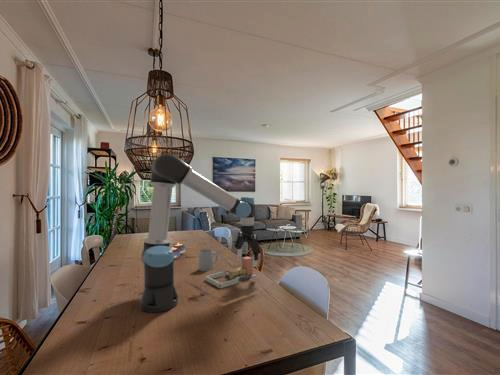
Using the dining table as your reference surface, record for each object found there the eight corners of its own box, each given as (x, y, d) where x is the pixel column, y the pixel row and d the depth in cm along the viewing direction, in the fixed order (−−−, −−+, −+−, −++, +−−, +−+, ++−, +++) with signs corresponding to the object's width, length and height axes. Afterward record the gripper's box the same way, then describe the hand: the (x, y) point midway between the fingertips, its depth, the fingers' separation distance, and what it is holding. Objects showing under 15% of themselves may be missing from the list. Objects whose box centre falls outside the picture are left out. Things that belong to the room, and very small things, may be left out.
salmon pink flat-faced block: (246, 275, 137) (246, 259, 137) (242, 274, 140) (241, 257, 140) (252, 274, 139) (252, 257, 139) (247, 272, 142) (247, 256, 142)
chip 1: (233, 279, 131) (233, 272, 131) (228, 277, 134) (228, 270, 134) (239, 278, 133) (239, 270, 133) (234, 276, 137) (234, 268, 137)
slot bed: (236, 283, 128) (236, 278, 128) (225, 278, 136) (225, 273, 136) (256, 277, 137) (256, 272, 137) (245, 272, 145) (245, 268, 145)
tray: (220, 290, 120) (220, 283, 120) (205, 282, 131) (205, 276, 131) (238, 285, 127) (238, 278, 127) (223, 277, 138) (223, 271, 138)
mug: (202, 272, 147) (201, 253, 147) (196, 268, 154) (196, 250, 154) (220, 268, 153) (220, 250, 153) (214, 265, 160) (214, 247, 160)
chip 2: (239, 277, 134) (239, 270, 134) (235, 275, 137) (235, 268, 137) (245, 276, 136) (245, 268, 136) (241, 274, 139) (241, 267, 139)
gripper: (267, 226, 133) (267, 267, 132) (239, 221, 152) (238, 257, 151) (257, 228, 128) (256, 270, 127) (228, 222, 147) (228, 259, 147)
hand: (246, 263), depth 139 cm, fingers open, 13 cm apart
